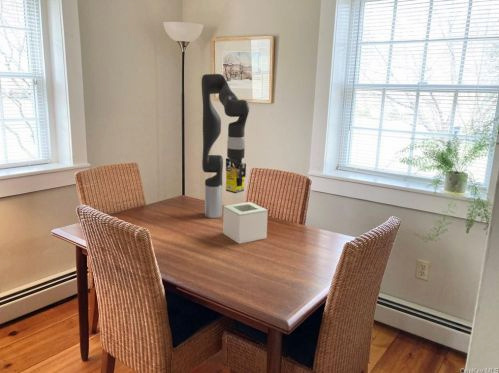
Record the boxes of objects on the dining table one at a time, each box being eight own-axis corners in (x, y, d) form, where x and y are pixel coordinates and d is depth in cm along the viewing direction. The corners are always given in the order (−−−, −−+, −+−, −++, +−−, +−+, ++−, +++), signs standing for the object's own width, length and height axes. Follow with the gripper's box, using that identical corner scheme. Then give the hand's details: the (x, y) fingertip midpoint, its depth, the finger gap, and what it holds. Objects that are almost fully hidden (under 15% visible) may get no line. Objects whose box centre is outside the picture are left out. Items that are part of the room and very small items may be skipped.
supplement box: (235, 193, 179) (236, 169, 176) (225, 191, 182) (225, 167, 180) (244, 191, 183) (245, 167, 181) (234, 188, 187) (234, 165, 184)
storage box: (223, 233, 198) (223, 205, 194) (249, 228, 206) (250, 201, 202) (239, 243, 185) (239, 214, 182) (266, 238, 193) (267, 209, 190)
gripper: (220, 144, 182) (220, 181, 186) (236, 150, 170) (235, 188, 174) (235, 143, 186) (234, 179, 190) (252, 149, 174) (250, 186, 178)
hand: (235, 183), depth 182 cm, fingers closed on supplement box, 7 cm apart
